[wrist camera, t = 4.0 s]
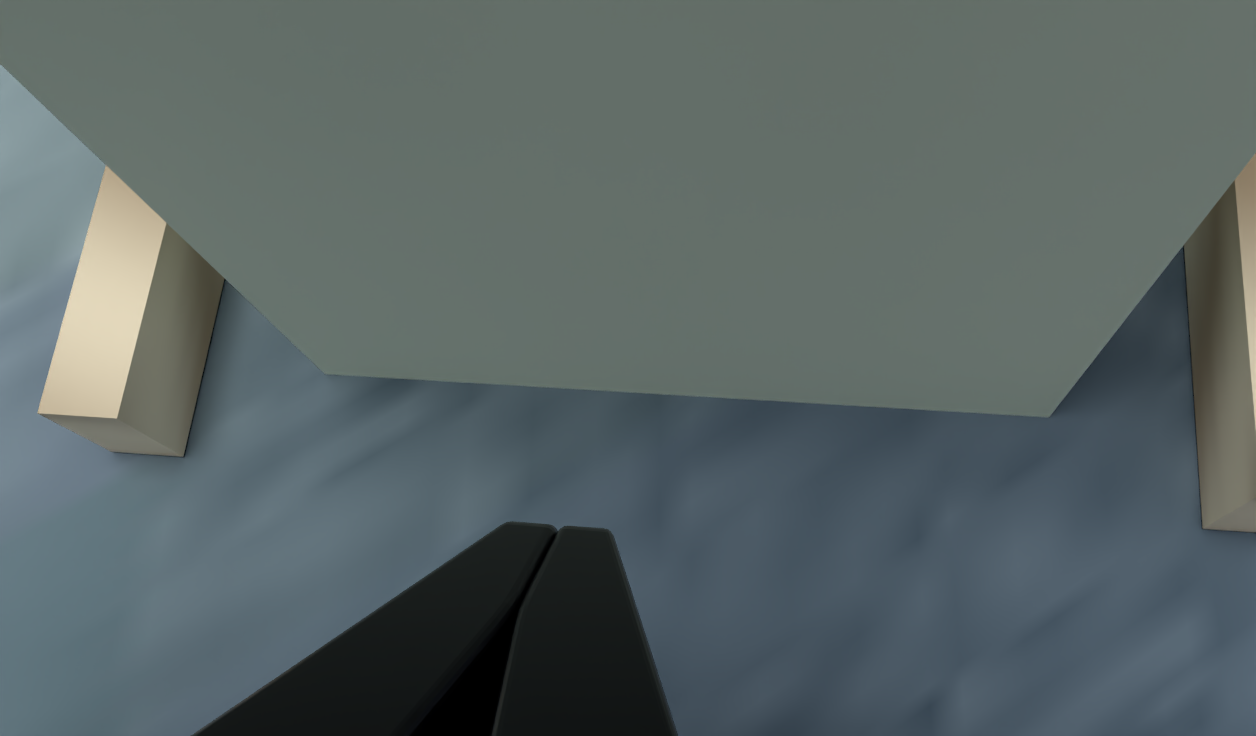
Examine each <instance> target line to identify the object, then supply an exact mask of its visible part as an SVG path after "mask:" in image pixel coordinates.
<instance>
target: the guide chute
mask: <svg viewBox="0 0 1256 736" xmlns="http://www.w3.org/2000/svg"><path fill="white" fill-rule="evenodd" d="M1184 252H1185V268H1186V283H1187V298H1188V313H1189V328H1190V344H1191V359H1192V374H1193V389H1194V404H1195V420H1196V435H1197V450H1198V465H1199V480H1200V495H1201V511H1202V526H1203V529H1213V530H1227V531H1241V532H1256V153H1255V154H1254V156H1253V157H1252V158H1251V160H1250V161H1249V162H1248V163H1247V165H1246V166H1245V167H1244V168H1243V170H1242V171H1241V172H1240V174H1239V175H1238V176H1237V177H1236V179H1235V180H1234V181H1233V183H1232V184H1231V185H1230V186H1229V188H1228V189H1227V190H1226V192H1225V193H1224V194H1223V195H1222V197H1221V198H1220V199H1219V201H1218V202H1217V203H1216V204H1215V206H1214V207H1213V208H1212V209H1211V211H1210V212H1209V213H1208V215H1207V216H1206V217H1205V218H1204V220H1203V221H1202V222H1201V224H1200V225H1199V226H1198V227H1197V229H1196V230H1195V231H1194V233H1193V234H1192V235H1191V236H1190V238H1189V239H1188V240H1187V241H1186V243H1185V244H1184ZM224 279H225V278H224V277H223V276H222V275H221V274H220V273H218V272H217V271H216V270H215V269H214V268H213V267H212V266H211V265H210V264H209V263H208V262H207V261H206V260H205V259H204V258H203V257H202V256H201V255H200V254H199V253H198V252H196V251H195V250H194V249H193V248H192V247H191V246H190V245H189V244H188V243H187V242H186V241H185V240H184V239H183V238H182V237H181V236H180V235H179V234H178V233H177V232H176V231H175V230H173V229H172V228H171V227H170V226H169V225H168V224H167V223H166V222H165V221H164V220H163V219H162V218H161V217H160V216H159V215H158V214H157V213H156V212H155V211H154V210H153V209H151V208H150V207H149V206H148V205H147V204H146V203H145V202H144V201H143V200H142V199H141V198H140V197H139V196H138V195H137V194H136V193H135V192H134V191H133V190H132V189H131V188H130V187H128V186H127V185H126V184H125V183H124V182H123V181H122V180H121V179H120V178H119V177H118V176H117V175H116V174H115V173H114V172H113V171H112V170H111V169H110V168H109V167H108V166H106V167H105V171H104V174H103V178H102V182H101V185H100V189H99V192H98V196H97V200H96V203H95V207H94V210H93V214H92V218H91V221H90V225H89V229H88V232H87V236H86V239H85V243H84V247H83V250H82V254H81V257H80V261H79V265H78V268H77V272H76V275H75V279H74V283H73V286H72V290H71V294H70V297H69V301H68V304H67V308H66V312H65V315H64V319H63V322H62V326H61V330H60V333H59V337H58V340H57V344H56V348H55V351H54V355H53V359H52V362H51V366H50V369H49V373H48V377H47V380H46V384H45V387H44V391H43V395H42V398H41V402H40V405H39V409H38V414H40V415H42V416H44V417H46V418H48V419H50V420H51V421H53V422H55V423H57V424H59V425H61V426H63V427H65V428H67V429H69V430H71V431H73V432H74V433H76V434H78V435H80V436H82V437H84V438H86V439H88V440H90V441H92V442H94V443H96V444H98V445H99V446H101V447H103V448H105V449H107V450H109V451H111V452H123V453H137V454H151V455H165V456H179V457H183V456H184V452H185V448H186V443H187V439H188V435H189V430H190V426H191V422H192V417H193V413H194V409H195V404H196V400H197V396H198V391H199V387H200V383H201V378H202V374H203V370H204V365H205V361H206V357H207V352H208V348H209V344H210V339H211V335H212V331H213V326H214V322H215V318H216V313H217V309H218V305H219V300H220V296H221V292H222V287H223V283H224Z"/></svg>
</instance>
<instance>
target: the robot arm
mask: <svg viewBox="0 0 1256 736" xmlns="http://www.w3.org/2000/svg"><path fill="white" fill-rule="evenodd" d="M191 736H678V734H677V730H676V727H675V724H674V721H673V718H672V715H671V712H670V709H669V706H668V703H667V699H666V696H665V693H664V690H663V687H662V684H661V681H660V678H659V675H658V672H657V668H656V665H655V662H654V659H653V656H652V653H651V650H650V647H649V644H648V641H647V638H646V634H645V631H644V628H643V625H642V622H641V619H640V616H639V613H638V610H637V607H636V603H635V600H634V597H633V594H632V591H631V588H630V585H629V582H628V579H627V576H626V572H625V569H624V566H623V563H622V560H621V557H620V554H619V551H618V548H617V545H616V541H615V538H614V536H613V534H612V533H611V531H609V530H608V529H604V528H591V527H577V526H564V527H562V528H560V530H559V531H557V529H556V528H555V527H554V526H553V525H549V524H537V523H525V522H506V523H504V524H502V525H500V526H499V527H497V528H496V529H495V530H493V531H492V532H490V533H489V534H487V535H486V536H484V537H483V538H481V539H480V540H478V541H477V542H475V543H474V544H472V545H471V546H469V547H468V548H467V549H465V550H464V551H462V552H461V553H459V554H458V555H456V556H455V557H453V558H452V559H450V560H449V561H447V562H446V563H444V564H443V565H442V566H440V567H439V568H437V569H436V570H434V571H433V572H431V573H430V574H428V575H427V576H425V577H424V578H422V579H421V580H419V581H418V582H416V583H415V584H414V585H412V586H411V587H409V588H408V589H406V590H405V591H403V592H402V593H400V594H399V595H397V596H396V597H394V598H393V599H391V600H390V601H389V602H387V603H386V604H384V605H383V606H381V607H380V608H378V609H377V610H375V611H374V612H372V613H371V614H369V615H368V616H366V617H365V618H363V619H362V620H361V621H359V622H358V623H356V624H355V625H353V626H352V627H350V628H349V629H347V630H346V631H344V632H343V633H341V634H340V635H338V636H337V637H336V638H334V639H333V640H331V641H330V642H328V643H327V644H325V645H324V646H322V647H321V648H319V649H318V650H316V651H315V652H313V653H312V654H310V655H309V656H308V657H306V658H305V659H303V660H302V661H300V662H299V663H297V664H296V665H294V666H293V667H291V668H290V669H288V670H287V671H285V672H284V673H283V674H281V675H280V676H278V677H277V678H275V679H274V680H272V681H271V682H269V683H268V684H266V685H265V686H263V687H262V688H260V689H259V690H257V691H256V692H255V693H253V694H252V695H250V696H249V697H247V698H246V699H244V700H243V701H241V702H240V703H238V704H237V705H235V706H234V707H232V708H231V709H230V710H228V711H227V712H225V713H224V714H222V715H221V716H219V717H218V718H216V719H215V720H213V721H212V722H210V723H209V724H207V725H206V726H204V727H203V728H202V729H200V730H199V731H197V732H196V733H194V734H193V735H191Z"/></svg>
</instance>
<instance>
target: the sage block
mask: <svg viewBox="0 0 1256 736" xmlns="http://www.w3.org/2000/svg"><path fill="white" fill-rule="evenodd" d="M0 64H1V65H2V66H3V67H4V68H5V69H6V70H7V71H8V72H9V73H10V74H11V75H12V76H13V77H14V78H15V79H16V80H18V81H19V82H20V83H21V84H22V85H23V86H24V87H25V88H26V89H27V90H28V91H29V92H30V93H31V94H32V95H33V96H34V97H35V98H36V99H37V100H38V101H40V102H41V103H42V104H43V105H44V106H45V107H46V108H47V109H48V110H49V111H50V112H51V113H52V114H53V115H54V116H55V117H56V118H57V119H58V120H59V121H60V122H61V123H63V124H64V125H65V126H66V127H67V128H68V129H69V130H70V131H71V132H72V133H73V134H74V135H75V136H76V137H77V138H78V139H79V140H80V141H81V142H82V143H83V144H85V145H86V146H87V147H88V148H89V149H90V150H91V151H92V152H93V153H94V154H95V155H96V156H97V157H98V158H99V159H100V160H101V161H102V162H103V163H104V164H105V165H106V166H108V167H109V168H110V169H111V170H112V171H113V172H114V173H115V174H116V175H117V176H118V177H119V178H120V179H121V180H122V181H123V182H124V183H125V184H126V185H127V186H128V187H130V188H131V189H132V190H133V191H134V192H135V193H136V194H137V195H138V196H139V197H140V198H141V199H142V200H143V201H144V202H145V203H146V204H147V205H148V206H149V207H150V208H151V209H153V210H154V211H155V212H156V213H157V214H158V215H159V216H160V217H161V218H162V219H163V220H164V221H165V222H166V223H167V224H168V225H169V226H170V227H171V228H172V229H173V230H175V231H176V232H177V233H178V234H179V235H180V236H181V237H182V238H183V239H184V240H185V241H186V242H187V243H188V244H189V245H190V246H191V247H192V248H193V249H194V250H195V251H196V252H198V253H199V254H200V255H201V256H202V257H203V258H204V259H205V260H206V261H207V262H208V263H209V264H210V265H211V266H212V267H213V268H214V269H215V270H216V271H217V272H218V273H220V274H221V275H222V276H223V277H224V278H225V279H226V280H227V281H228V282H229V283H230V284H231V285H232V286H233V287H234V288H235V289H236V290H237V291H238V292H239V293H240V294H241V295H243V296H244V297H245V298H246V299H247V300H248V301H249V302H250V303H251V304H252V305H253V306H254V307H255V308H256V309H257V310H258V311H259V312H260V313H261V314H262V315H263V316H265V317H266V318H267V319H268V320H269V321H270V322H271V323H272V324H273V325H274V326H275V327H276V328H277V329H278V330H279V331H280V332H281V333H282V334H283V335H284V336H285V337H286V338H288V339H289V340H290V341H291V342H292V343H293V344H294V345H295V346H296V347H297V348H298V349H299V350H300V351H301V352H302V353H303V354H304V355H305V356H306V357H307V358H308V359H310V360H311V361H312V362H313V363H314V364H315V365H316V366H317V367H318V368H319V369H320V370H321V371H322V372H323V373H324V374H329V375H346V376H363V377H380V378H396V379H413V380H430V381H447V382H463V383H480V384H497V385H514V386H531V387H547V388H564V389H581V390H598V391H614V392H631V393H648V394H665V395H681V396H698V397H715V398H732V399H748V400H765V401H782V402H799V403H816V404H832V405H849V406H866V407H883V408H899V409H916V410H933V411H950V412H966V413H983V414H1000V415H1017V416H1033V417H1050V416H1051V414H1052V413H1053V412H1054V410H1055V409H1056V408H1057V407H1058V405H1059V404H1060V403H1061V401H1062V400H1063V399H1064V398H1065V396H1066V395H1067V394H1068V393H1069V391H1070V390H1071V389H1072V387H1073V386H1074V385H1075V384H1076V382H1077V381H1078V380H1079V378H1080V377H1081V376H1082V375H1083V373H1084V372H1085V371H1086V369H1087V368H1088V367H1089V366H1090V364H1091V363H1092V362H1093V361H1094V359H1095V358H1096V357H1097V355H1098V354H1099V353H1100V352H1101V350H1102V349H1103V348H1104V346H1105V345H1106V344H1107V343H1108V341H1109V340H1110V339H1111V337H1112V336H1113V335H1114V334H1115V332H1116V331H1117V330H1118V329H1119V327H1120V326H1121V325H1122V323H1123V322H1124V321H1125V320H1126V318H1127V317H1128V316H1129V314H1130V313H1131V312H1132V311H1133V309H1134V308H1135V307H1136V305H1137V304H1138V303H1139V302H1140V300H1141V299H1142V298H1143V297H1144V295H1145V294H1146V293H1147V291H1148V290H1149V289H1150V288H1151V286H1152V285H1153V284H1154V282H1155V281H1156V280H1157V279H1158V277H1159V276H1160V275H1161V273H1162V272H1163V271H1164V270H1165V268H1166V267H1167V266H1168V265H1169V263H1170V262H1171V261H1172V259H1173V258H1174V257H1175V256H1176V254H1177V253H1178V252H1179V250H1180V249H1181V248H1182V247H1183V245H1184V244H1185V243H1186V241H1187V240H1188V239H1189V238H1190V236H1191V235H1192V234H1193V233H1194V231H1195V230H1196V229H1197V227H1198V226H1199V225H1200V224H1201V222H1202V221H1203V220H1204V218H1205V217H1206V216H1207V215H1208V213H1209V212H1210V211H1211V209H1212V208H1213V207H1214V206H1215V204H1216V203H1217V202H1218V201H1219V199H1220V198H1221V197H1222V195H1223V194H1224V193H1225V192H1226V190H1227V189H1228V188H1229V186H1230V185H1231V184H1232V183H1233V181H1234V180H1235V179H1236V177H1237V176H1238V175H1239V174H1240V172H1241V171H1242V170H1243V168H1244V167H1245V166H1246V165H1247V163H1248V162H1249V161H1250V160H1251V158H1252V157H1253V156H1254V154H1255V153H1256V0H0Z"/></svg>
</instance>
